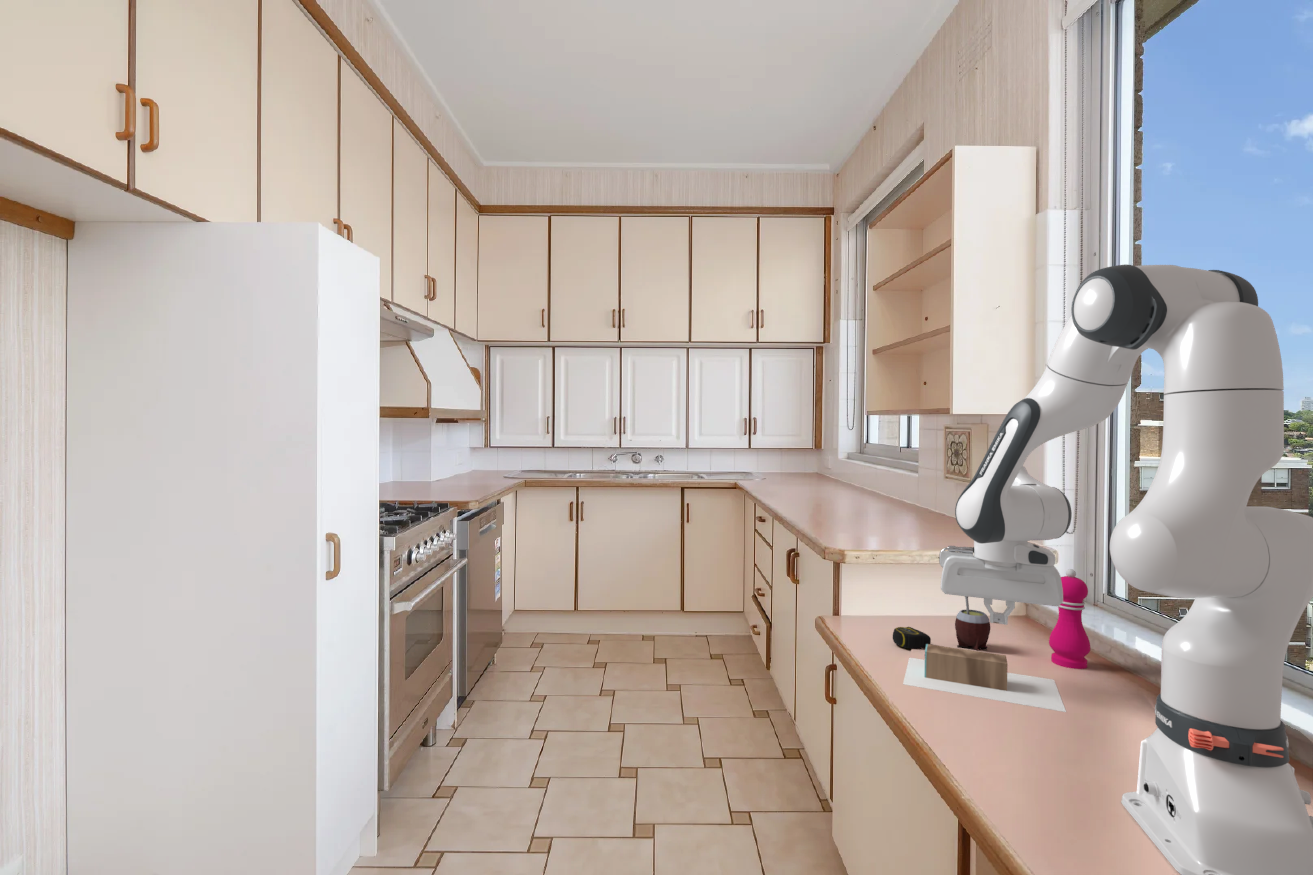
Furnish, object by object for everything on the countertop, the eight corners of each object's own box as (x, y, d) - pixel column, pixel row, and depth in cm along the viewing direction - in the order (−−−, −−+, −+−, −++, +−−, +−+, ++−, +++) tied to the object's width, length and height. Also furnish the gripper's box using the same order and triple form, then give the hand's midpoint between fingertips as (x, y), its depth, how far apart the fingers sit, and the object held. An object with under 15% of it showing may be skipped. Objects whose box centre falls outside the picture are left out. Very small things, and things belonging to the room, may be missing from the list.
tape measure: (932, 650, 141) (932, 633, 141) (906, 653, 139) (906, 636, 139) (911, 640, 148) (911, 624, 148) (886, 643, 146) (886, 626, 146)
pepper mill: (1093, 665, 133) (1095, 569, 133) (1086, 674, 127) (1088, 574, 127) (1052, 656, 138) (1054, 563, 138) (1044, 665, 132) (1046, 568, 132)
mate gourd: (982, 643, 146) (983, 578, 146) (997, 655, 138) (998, 586, 138) (948, 642, 146) (949, 576, 146) (961, 654, 139) (962, 585, 138)
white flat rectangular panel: (1066, 714, 109) (1066, 711, 109) (902, 686, 120) (903, 684, 120) (1053, 682, 123) (1054, 679, 123) (909, 659, 135) (909, 657, 135)
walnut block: (1007, 663, 118) (924, 651, 124) (1007, 690, 118) (924, 677, 124) (1005, 655, 122) (926, 643, 128) (1005, 681, 122) (925, 668, 128)
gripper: (939, 547, 122) (937, 619, 122) (1065, 557, 113) (1063, 635, 113) (939, 542, 128) (938, 611, 128) (1060, 551, 119) (1059, 626, 119)
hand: (998, 623), depth 120 cm, fingers closed
